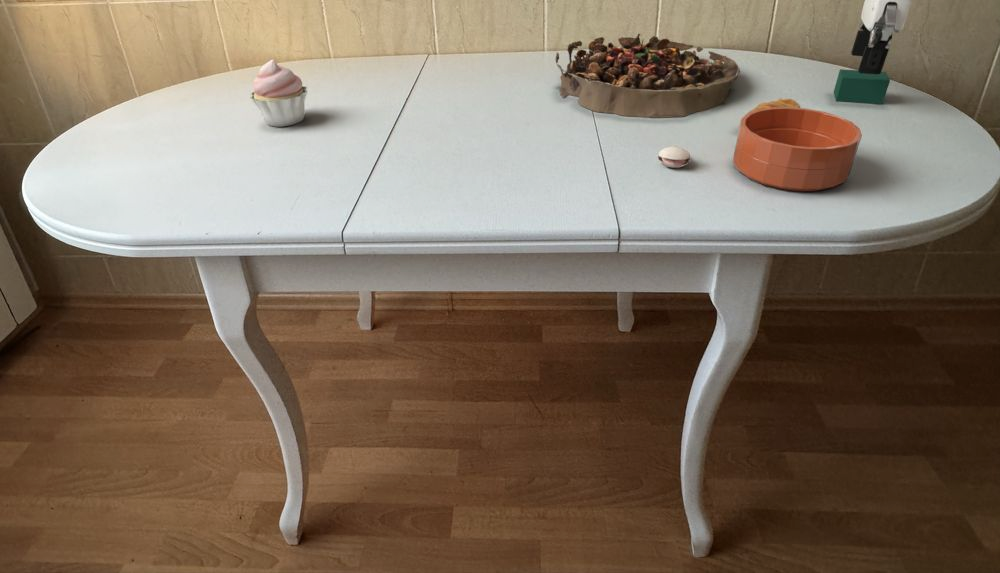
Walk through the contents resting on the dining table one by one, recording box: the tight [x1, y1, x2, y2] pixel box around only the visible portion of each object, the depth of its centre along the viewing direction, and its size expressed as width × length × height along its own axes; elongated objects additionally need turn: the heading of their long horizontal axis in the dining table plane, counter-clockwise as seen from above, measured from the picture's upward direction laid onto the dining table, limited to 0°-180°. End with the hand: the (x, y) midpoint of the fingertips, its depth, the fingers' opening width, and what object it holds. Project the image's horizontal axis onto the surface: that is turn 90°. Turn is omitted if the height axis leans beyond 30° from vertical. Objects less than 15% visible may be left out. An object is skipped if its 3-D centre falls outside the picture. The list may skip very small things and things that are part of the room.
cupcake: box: [249, 59, 308, 128], centre depth 102 cm, size 9×9×10 cm
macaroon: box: [657, 146, 691, 169], centre depth 86 cm, size 4×5×2 cm
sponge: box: [833, 68, 891, 105], centre depth 104 cm, size 7×4×4 cm, turn 72°
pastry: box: [747, 98, 801, 113], centre depth 95 cm, size 9×7×4 cm
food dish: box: [555, 33, 741, 119], centre depth 113 cm, size 35×33×8 cm
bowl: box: [733, 107, 863, 192], centre depth 82 cm, size 14×14×6 cm
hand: (864, 64), depth 102 cm, fingers open, 9 cm apart
